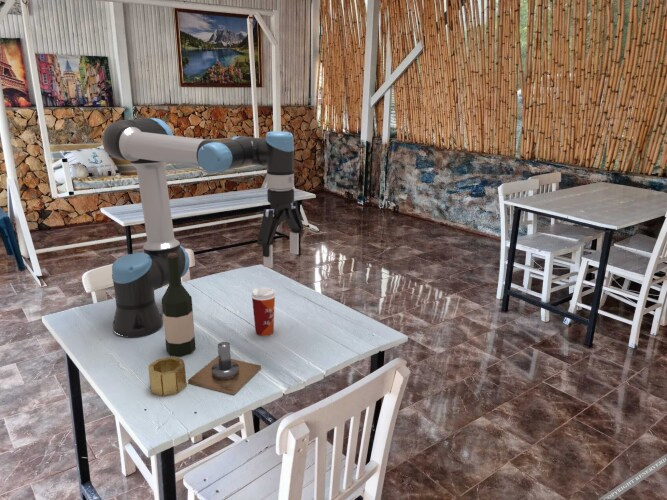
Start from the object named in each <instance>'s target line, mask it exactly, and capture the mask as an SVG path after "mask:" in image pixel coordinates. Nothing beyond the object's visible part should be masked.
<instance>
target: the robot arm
mask: <svg viewBox="0 0 667 500" xmlns="http://www.w3.org/2000/svg"><path fill="white" fill-rule="evenodd" d="M102 145H103V148H104V149H105V151H106V153H107V154H109V155H110V156H111V157H113V158H114V159H117V160H120V161H127V162H129V161H130V165H132V166H133V167H134V168H135V169H136V174H137V181H138V187H139V193H140V201H141V206H142V215H143V220H144V227H145V233H146V234H145V235H146V243H144V245H143V247H142V248H143V252H133V253H131V254H130V253H128V254H125V255H123V256H120V257H118V258H117V259H115V260H114V262H113V264H112V265H111V278H112V285H113V291H114V298H115V306H116V309H115V312H114V318H113V322H112V329H113V330H114V331H115V332H116V333H118V334H120V335H123V336H128V337H127V338H141V337H146V336H148V335H151V334H154V333H156V332H158V331H159V330H161V328H162V327H164V321H163V314H161V312H160V309H159V308H158V305H157V303H156V297H155V290H158V289H160V288H163V287H164V286H167V285H169V278H168V267H167V257H168V254H169V253H177V255H178V256H179V260H180V271H181V278H183V277H184V276H185V275H186V274H187V273H188V271H189V269H190V256H189V253H188V252H187V251H186V249H185V248H184V247H183V246H181V243H180V241H179V240H178V239H176V238H175V233H174V226H173V218H172V211H171V203H170V196H169V189H168V182H167V181H168V179H167V172H166V165H167V164H173V165H175V164H176V165H181V166H187V167H195V168H201V169H203V170H204V171H205V172H207V173H210V174H211V173H212V174H214V173H223V172H225V171H229V170H234V169H237V168H238V169H239V168H242V167H245V166H250V165H254V166H264V167H265V166H266V187H267V188H268V189H267V191H266V192H267V195H266V196H267V199H266V200H267V202H268V203H269V204H270V209H267V208H264V209H263V214H262V215H263V216H262V221H261V226H260V229H259V233H258V236H257V241H256V244H257V245H260V246H261V247H262V256H263V257H262V258H263V262H262V263H263V267H265V268H269V269H273V267H274V256H273V255H274V253H273V250H274V248H273V244H272V242H273V239H274V237H275V233H276V232H277V229H278V226H280V225H281V224H282V222H284V221H285V223H286V225H287V226H288V227H289V229H290V231H289V253H290V254H293V255H296V256H297V255H299V254H300V249H299V248H300V243H299V242H300V234H302V233H303V229H304V224H303V221H302V220H303V219H302V218H301V214H300V210H299V207H298V206H299V205H298V201H296V200H295V190H294V187H295V168H294V166H295V165H294V164H295V163H294V162H295V158H294V157H295V156H294V154H295V147H294V146H295V143H294V135H293V134H292V132H291V131H290V132H289V131H281V130H279V131H267V132H266V134H265V137H263V138H261V137H252V136H251V137H250V136H247V135H246V136H245V135H242V136H233V137H231V139H228V140H220V141H219V140H212V139H203V138H196V137H195V138H194V137H187V136H179V135H174V133H173V131H172V129H171V127H170V126H169V125H168V124H167V123H166V121H164V120H161V119H159V118H155V117H149V118H148V117H141V118H133V119H119V120H116V121H113V122H111V123H110V124H109V125H107V126H106V128H105V130H104V132H103V133H102ZM114 331H113V332H114ZM140 336H141V337H140Z"/></svg>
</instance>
